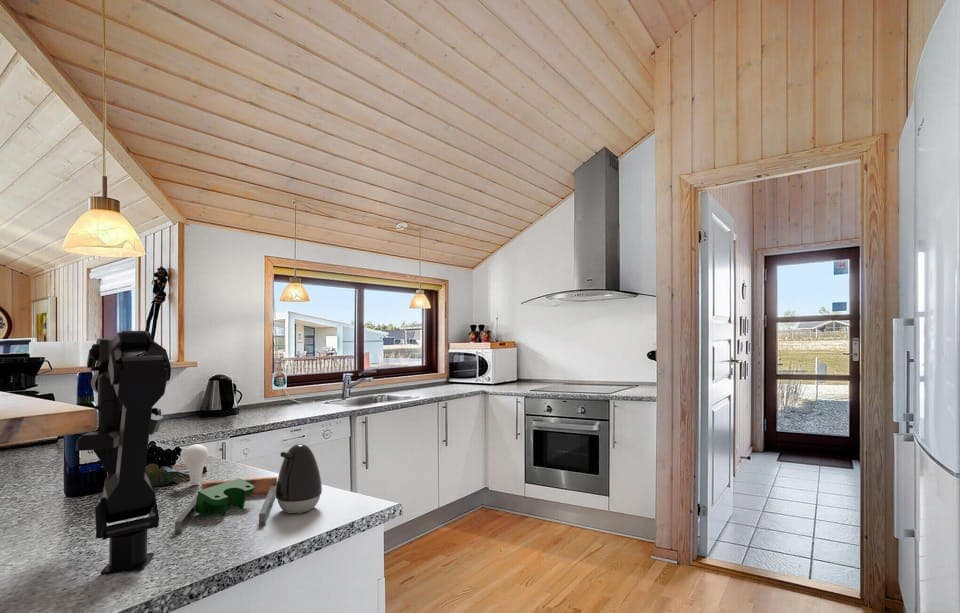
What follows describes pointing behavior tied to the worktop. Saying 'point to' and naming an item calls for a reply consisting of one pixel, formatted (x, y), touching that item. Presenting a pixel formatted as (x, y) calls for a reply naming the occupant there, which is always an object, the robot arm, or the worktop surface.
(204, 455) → the lightbulb
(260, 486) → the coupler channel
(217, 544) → the worktop surface
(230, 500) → the clamp
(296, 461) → the pump dispenser
